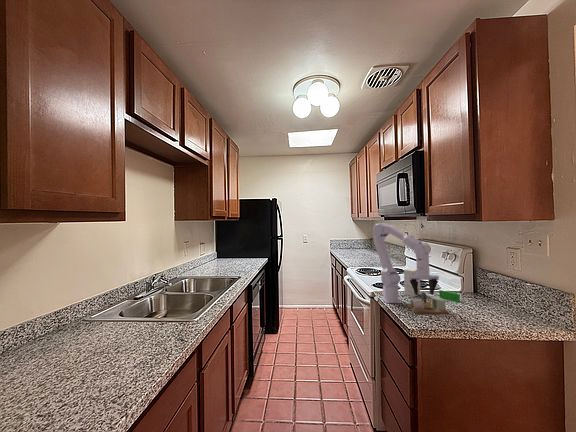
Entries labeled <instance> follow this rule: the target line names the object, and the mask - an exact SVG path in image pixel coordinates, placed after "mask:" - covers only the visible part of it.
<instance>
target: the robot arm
mask: <svg viewBox="0 0 576 432" xmlns="http://www.w3.org/2000/svg"><path fill="white" fill-rule="evenodd" d="M372 232H373V242H374V246H375V249H376V253H377V255H378V258H379V263H380V265H381V269H382V270H381V272H380V275H381V278H380V279H381V283H382V284H383V286H382V297H381V300H382V301H384V302H385V303H386V304H401V303H402V301H400V300H399V284H400V282H401V276H400V274H399V273H398V270H397V269H396V268H395V267H394V266H393V264H392V261H391V257H390V254H389V251H388V249H387V245H386V242H385V239H386V238H387V237H388V236H389V235H392V236H394V237H396V238H398V240H401V241H402V244H403V245H405V246H406V247H408V248H409V249H411V250H413V253H414V254H415V258H416V268H417V275H413V276H408V280H409V281H410V283H411V284H412V287H413V289H414V293H415V294H416V295H417V296H419V295H418V282H417V281H416V280H420V281H428V285H429V294H430V295H434V292H435V290H436V286H437V285H438V284H439V283H438V282H439V280H440V276H439V275H434V274H432V275H431V274H430V253H431V251H432V248H431V246H430V245H429V244H428V243H427V242H423V241H422V240H419V239H417V238H416V237H415V236H414V235H411V234H408V235H406V234H405V233H404V232H402V231H400V230H399V229H398V228H397V227H395V226H394V225H393V224H391V223H389V222H386V223H375V224H374V226H373V227H372Z"/></svg>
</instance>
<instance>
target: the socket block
mask: <svg viewBox="0 0 576 432" xmlns="http://www.w3.org/2000/svg"><path fill="white" fill-rule="evenodd" d="M430 297H431V298H430V302H431V306H437V310H446V299H442V298H440V297H439V296H430Z"/></svg>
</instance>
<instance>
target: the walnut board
mask: <svg viewBox="0 0 576 432" xmlns="http://www.w3.org/2000/svg"><path fill="white" fill-rule="evenodd" d="M406 308H408V309H410V310H411V311H412V312H413V313H415V314H416V315H431V314H432V315H444V314H445V315H446V314H447V315H448V314H449V311H448V310H437V306H431V307H424V309H413V308H412V307H411V303H408V304H406Z"/></svg>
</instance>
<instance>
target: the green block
mask: <svg viewBox="0 0 576 432" xmlns="http://www.w3.org/2000/svg"><path fill="white" fill-rule="evenodd" d="M438 291H439V292H438V294H439V295H438V297H440V298H442V299H443V300H445V301H446V300H447V301H449V302H454V303H458V304H459V303H461V297H460V296H461V295H460V294H459V293H458V291H457V292H454V291H453V292H452V291H450V290H441V289H439V290H438Z"/></svg>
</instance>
